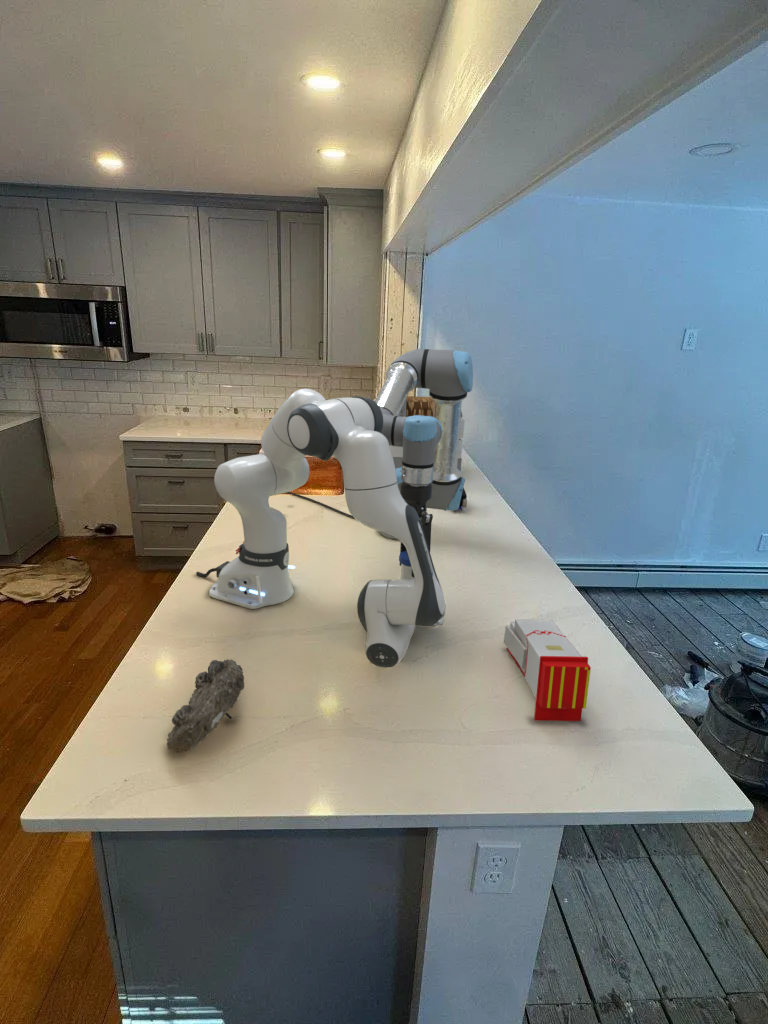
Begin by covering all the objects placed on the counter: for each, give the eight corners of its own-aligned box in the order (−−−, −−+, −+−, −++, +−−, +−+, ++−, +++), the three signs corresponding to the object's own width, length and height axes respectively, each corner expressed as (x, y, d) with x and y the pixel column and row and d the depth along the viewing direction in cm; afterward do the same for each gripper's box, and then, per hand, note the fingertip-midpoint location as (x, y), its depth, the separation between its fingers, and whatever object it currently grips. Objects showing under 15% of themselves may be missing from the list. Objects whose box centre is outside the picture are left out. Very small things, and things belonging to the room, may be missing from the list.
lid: (394, 558, 143) (394, 552, 142) (416, 554, 145) (416, 548, 145) (406, 568, 138) (406, 562, 137) (428, 564, 140) (428, 558, 140)
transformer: (382, 463, 289) (386, 382, 275) (445, 464, 293) (451, 384, 279) (390, 482, 257) (394, 392, 243) (460, 483, 261) (468, 394, 247)
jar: (420, 613, 148) (424, 555, 142) (413, 622, 144) (417, 563, 138) (402, 609, 150) (405, 552, 144) (395, 618, 145) (398, 559, 140)
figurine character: (467, 516, 223) (461, 500, 237) (469, 499, 220) (463, 483, 233) (450, 516, 223) (446, 499, 236) (452, 498, 220) (447, 483, 233)
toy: (549, 604, 136) (599, 663, 106) (544, 656, 138) (591, 727, 109) (499, 603, 135) (535, 662, 106) (495, 655, 138) (529, 726, 109)
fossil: (192, 660, 117) (244, 628, 112) (224, 691, 120) (276, 661, 115) (142, 746, 98) (202, 712, 93) (182, 779, 101) (242, 748, 96)
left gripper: (443, 614, 129) (451, 587, 142) (357, 600, 134) (372, 576, 146) (441, 638, 132) (449, 610, 144) (356, 624, 136) (371, 597, 149)
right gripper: (385, 472, 141) (381, 557, 149) (421, 495, 125) (415, 589, 133) (412, 470, 144) (407, 553, 152) (450, 492, 128) (442, 584, 136)
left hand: (409, 592), depth 145 cm, fingers closed on jar, 5 cm apart
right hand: (410, 570), depth 142 cm, fingers closed on lid, 6 cm apart
